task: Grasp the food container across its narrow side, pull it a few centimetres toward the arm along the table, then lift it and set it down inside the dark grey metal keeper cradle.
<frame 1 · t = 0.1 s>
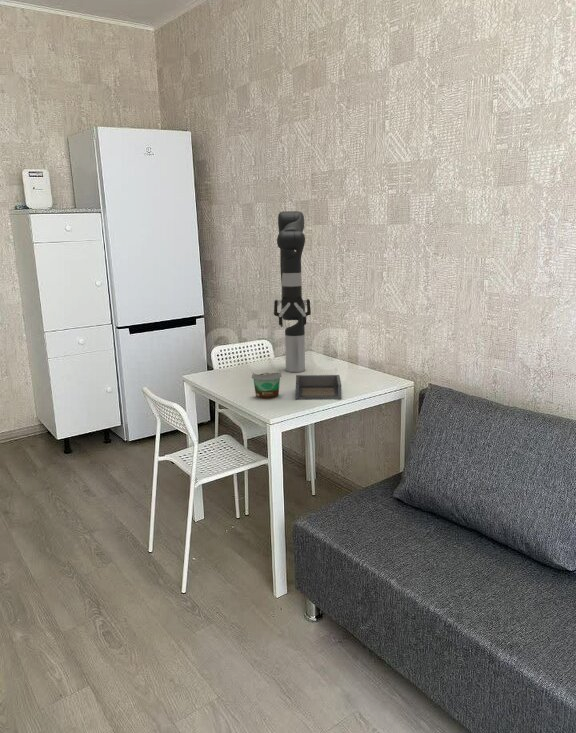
hand: (292, 326, 234), 29 cm above the table, fingers open, 8 cm apart
keeper cradle: (318, 393, 246), on the table
food container: (268, 397, 243), on the table
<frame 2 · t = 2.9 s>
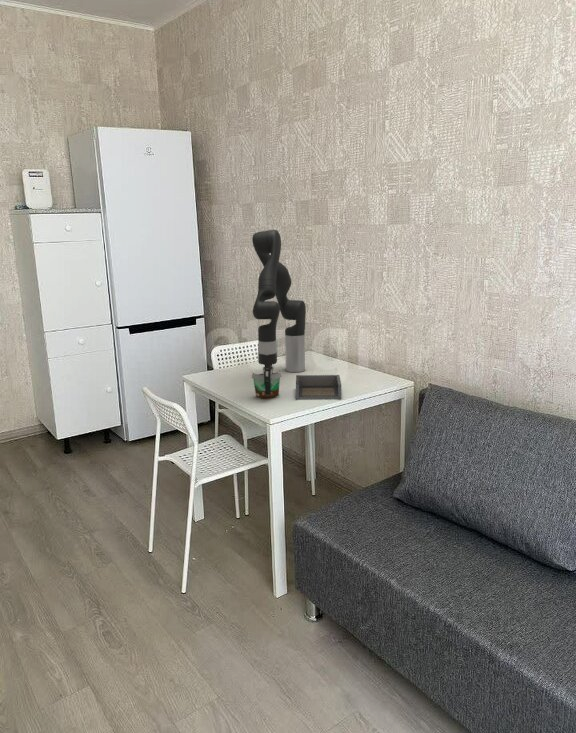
hand: (268, 391, 243), 2 cm above the table, fingers closed on food container, 5 cm apart
food container: (268, 397, 242), on the table, touching gripper
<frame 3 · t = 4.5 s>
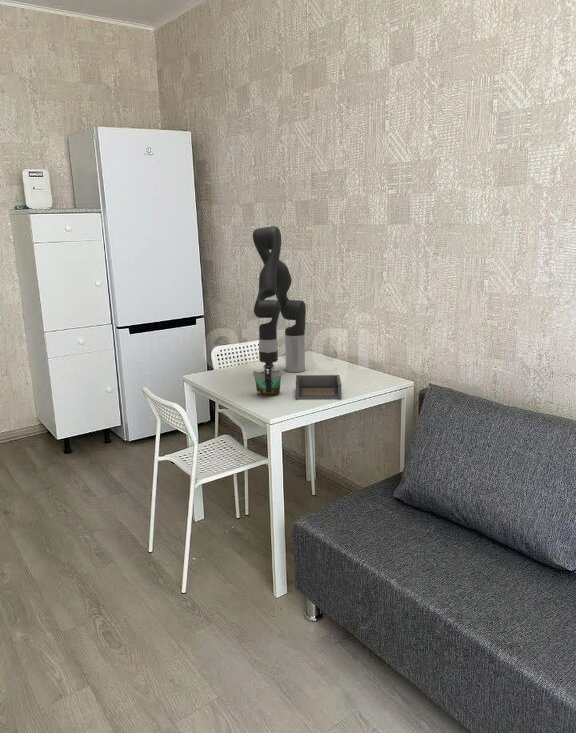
hand: (269, 389, 246), 2 cm above the table, fingers closed on food container, 5 cm apart
food container: (269, 395, 246), on the table, touching gripper
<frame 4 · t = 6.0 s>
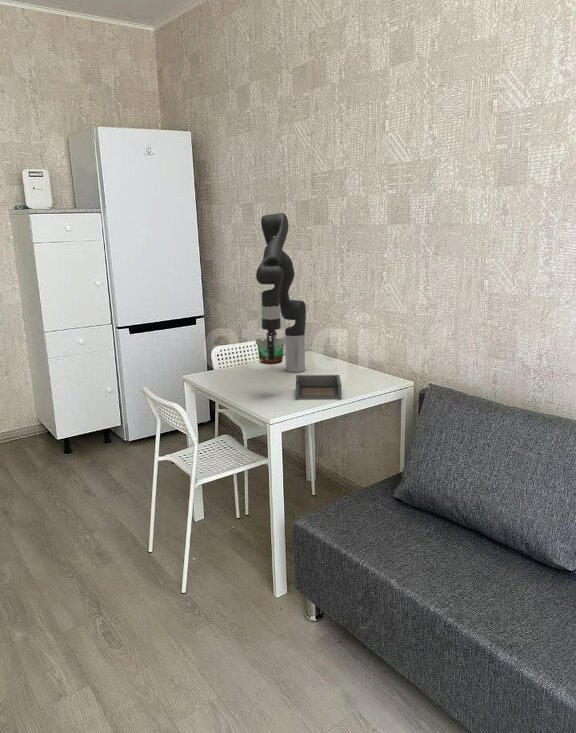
hand: (272, 358, 243), 15 cm above the table, fingers closed on food container, 5 cm apart
food container: (272, 363, 243), point 13 cm above the table, touching gripper
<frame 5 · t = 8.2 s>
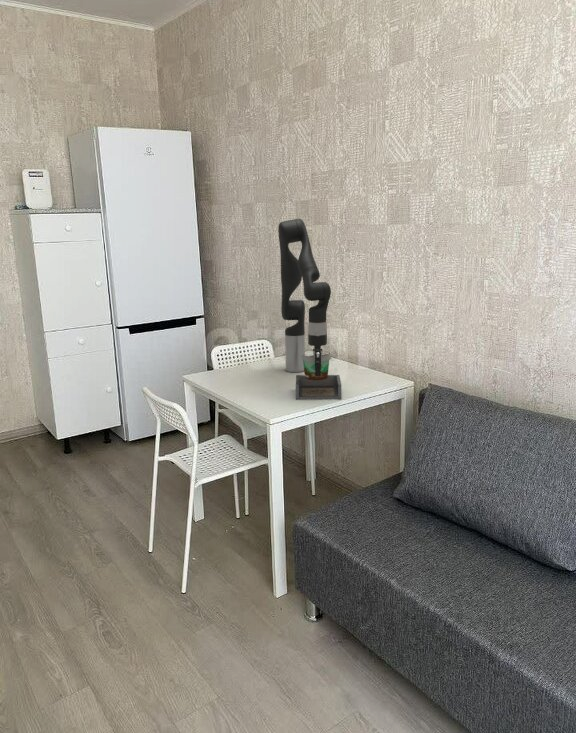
hand: (317, 373, 243), 9 cm above the table, fingers closed on food container, 5 cm apart
food container: (318, 379, 243), point 7 cm above the table, touching gripper
when the fingers open (4 cm above the table, at t = 9.5 s): food container drops 1 cm, resting on keeper cradle.
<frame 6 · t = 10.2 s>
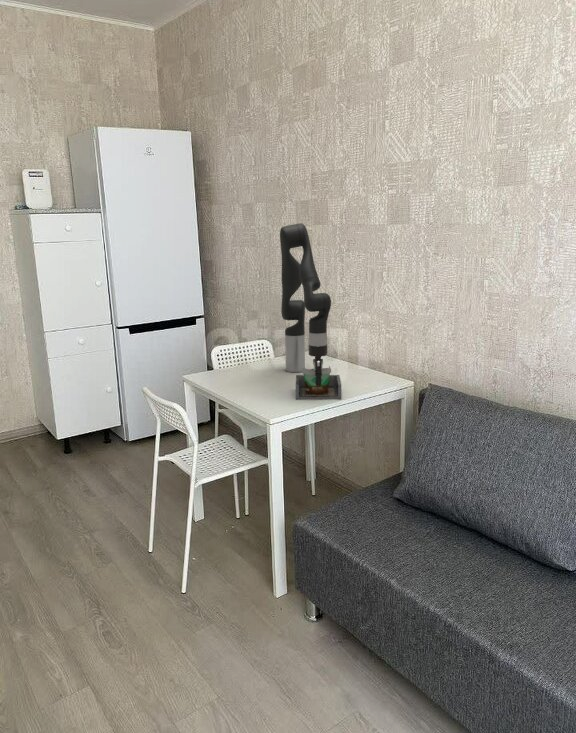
hand: (318, 382, 243), 5 cm above the table, fingers open, 8 cm apart
food container: (318, 392, 243), point 1 cm above the table, touching gripper, keeper cradle
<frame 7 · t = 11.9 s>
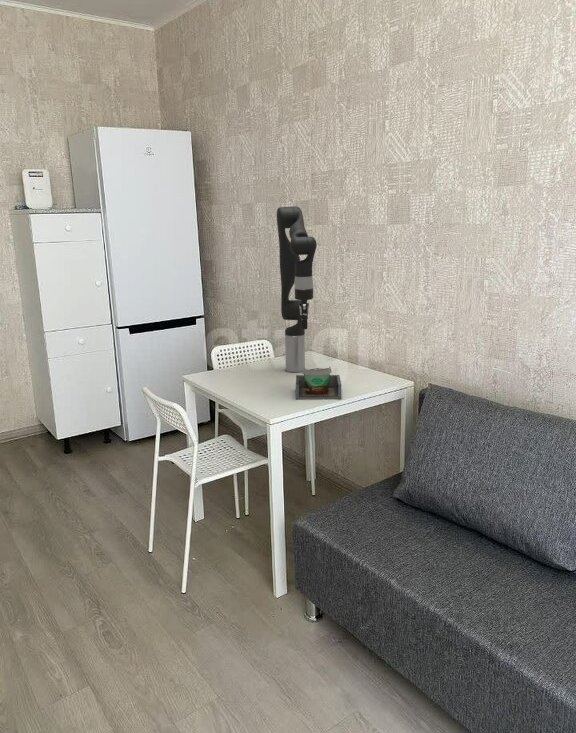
hand: (304, 326, 246), 27 cm above the table, fingers open, 8 cm apart
food container: (318, 393, 243), point 1 cm above the table, touching keeper cradle
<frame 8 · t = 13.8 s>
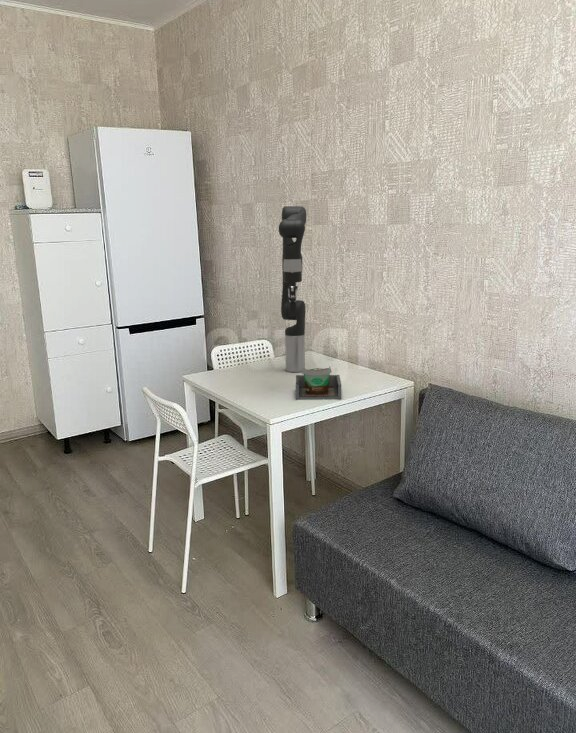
hand: (293, 309, 250), 33 cm above the table, fingers open, 8 cm apart
nothing on the table moved.
at the end: food container inside the target area on the keeper cradle (1.6 cm from its centre), point 1.0 cm above the keeper cradle's base; food container tilted 0°; the gripper is holding nothing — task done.
